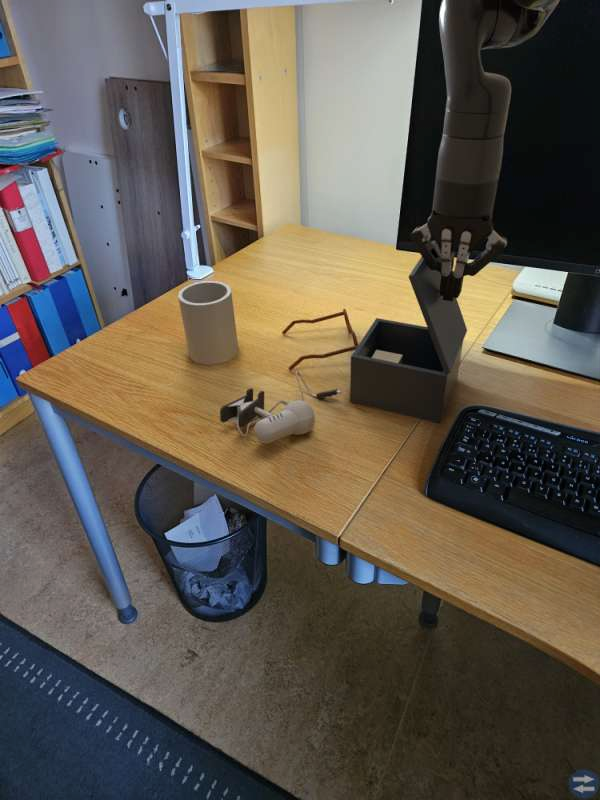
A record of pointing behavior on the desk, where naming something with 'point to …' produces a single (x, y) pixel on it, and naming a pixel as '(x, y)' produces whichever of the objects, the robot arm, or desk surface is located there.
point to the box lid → (438, 313)
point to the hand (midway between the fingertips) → (449, 298)
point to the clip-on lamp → (273, 427)
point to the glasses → (330, 352)
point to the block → (388, 356)
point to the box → (401, 372)
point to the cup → (209, 322)
